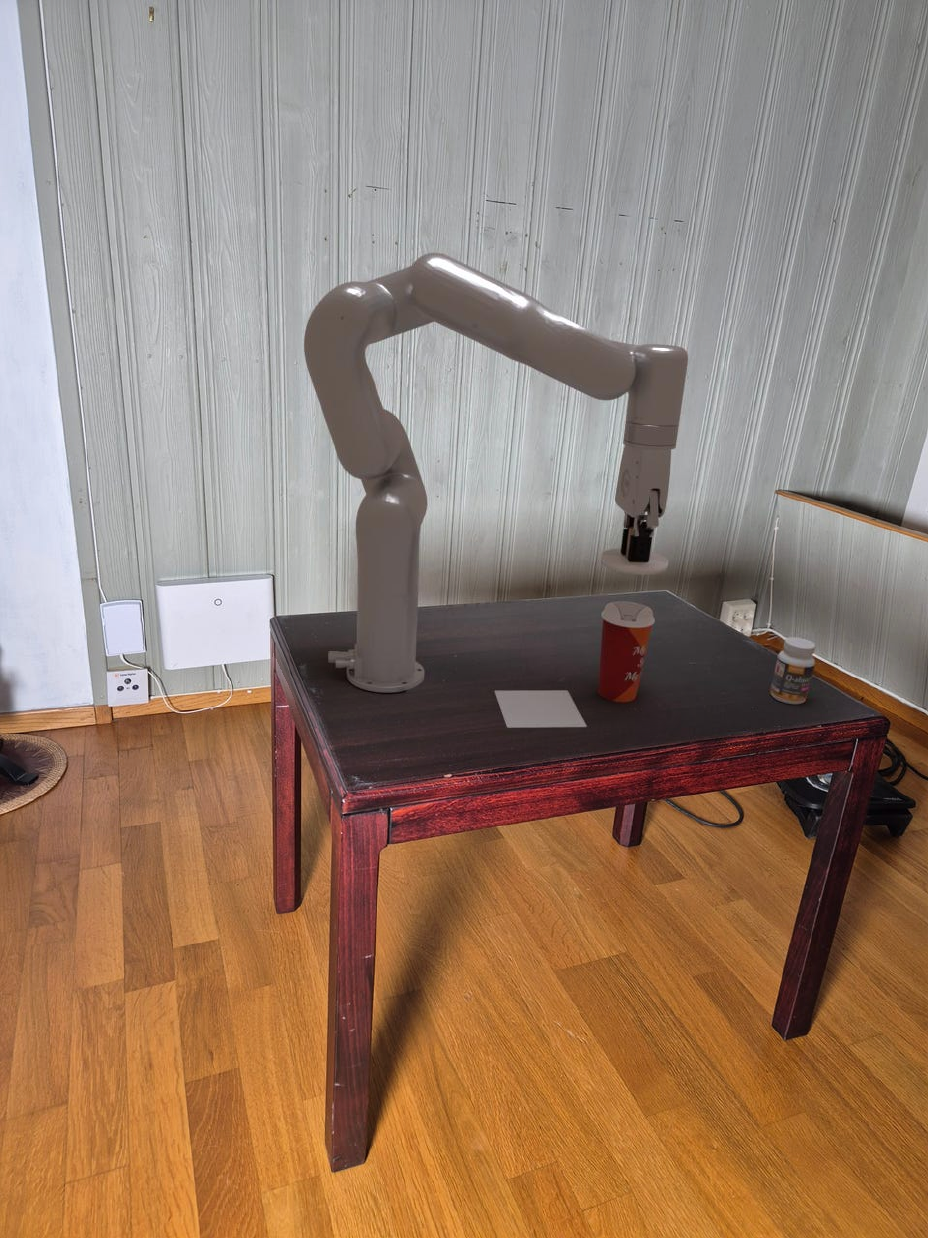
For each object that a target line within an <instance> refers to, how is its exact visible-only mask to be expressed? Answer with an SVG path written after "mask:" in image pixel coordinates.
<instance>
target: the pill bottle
mask: <svg viewBox="0 0 928 1238" xmlns="http://www.w3.org/2000/svg"><path fill="white" fill-rule="evenodd" d="M815 649H816V644H815V642H813V641H811V640H808V639H805V638H801V637H792V636H791V637H787V638H784V643H783V650H781V651H780V652H779V653H778V654H777V659H776V662H775V667H774V672H773V675H772V681H771V686H770V690H769V691H770V693H769V694H770V695H771V697H773V699H775V700H777V701H779V702H781V703H784V704H788V705H800V704H803V703H805V702H806V700H807V697H808V695H809V690H810V686H811V682H812V676H813V674H814V673H813V672H814V670H815V665H816V661H815V659H814V656H813V654H814V653H815Z"/></svg>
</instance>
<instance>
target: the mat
mask: <svg viewBox="0 0 928 1238" xmlns="http://www.w3.org/2000/svg"><path fill="white" fill-rule="evenodd" d="M494 695H495V697H496V700H497V702H498V705H499V708H500V711H501V713H502V716H503V720H504V722H505V725H506V727H507V729H509V728H510V729H514V728H515V729H519V728H520V729H521V728H522V729H524V728H525V729H526V728H527V729H528V728H530V729H532V728H534V729H535V728H587V727H588V726H587V724H586V723H585V720H584V718H583V717H582V715H581V713H580V711H579V710H578V708H577V706H576V704H575V701H574V700H573V697H572V696H571V694H570V692H569V691H568V690H566V689H565V690H494Z"/></svg>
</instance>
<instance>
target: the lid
mask: <svg viewBox="0 0 928 1238" xmlns="http://www.w3.org/2000/svg"><path fill="white" fill-rule="evenodd" d="M633 530H634V527H630V528H629V534H628V542H627V549H626V555H622V554H621V547H619V548H612V549H607V550H605V551H603V552H602V553H601V555H600V556H601V557H600V563H601V564H602V566H605V567H606V568H607V569H610V570H613V571H617V572H619V573H625V574H631V575H638V576H639V575H644V576H648V575H650V576H652V575H659V574H664V573H665V572H667V571H668V569H669V568H668V567H669V560H668V558H667V557H665V556H663V555H661V554H659V553H656V552H653V551H650V558H649V561H648V562H629V561H628V551H629V543H630V535H633Z"/></svg>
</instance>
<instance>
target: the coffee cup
mask: <svg viewBox="0 0 928 1238" xmlns="http://www.w3.org/2000/svg"><path fill="white" fill-rule="evenodd" d="M600 616H601V617H602V631H601V641H600V643H601V646H600V657H599V659H600V661H599V674H598V675H599V676H598V695H599V696H601V697H602V698H603V699H606V700H607V701H610V702H616V703H629V702H632V701H634V700H635V699H636V697H637V694H638V689H639V685H640V680H641V677H642V672H643V671H642V670H643V666H644V663H645V659H646V653H647V649H648V644H649V640H650V635H651V629H652V626H653V625H654V624H655V617H654V612H653V610H652V609H651V608H650V607H649V606H646V605H644V604H641V603H637V602H633V601H625V600H624V601H623V600H621V601H620V600H619V601H618V600H617V601H612V602H609V603H607V604H606V605H605V606H604V610H603V611H602V612H601V615H600Z"/></svg>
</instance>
